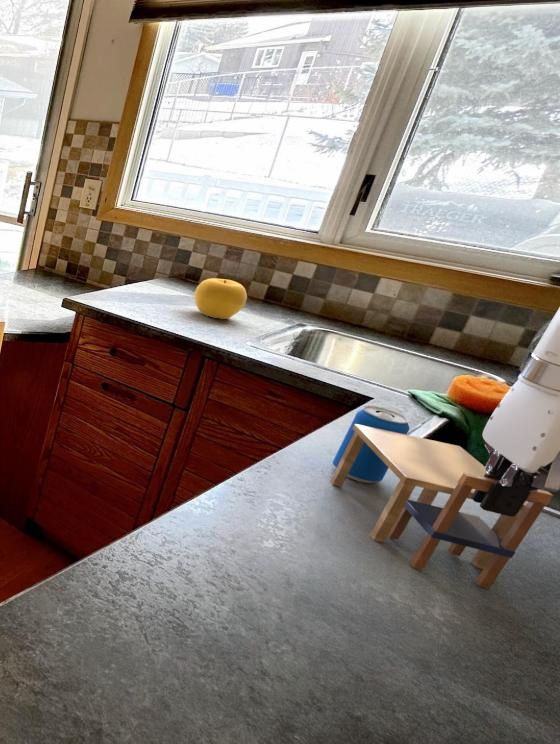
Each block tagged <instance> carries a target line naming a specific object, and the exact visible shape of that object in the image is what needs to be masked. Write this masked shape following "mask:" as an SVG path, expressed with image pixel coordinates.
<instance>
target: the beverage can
mask: <svg viewBox="0 0 560 744" xmlns="http://www.w3.org/2000/svg"><path fill="white" fill-rule="evenodd" d="M409 423H410V419H409V418H408V417H406V416H405V415H403V414H401V413H399V412H397V411H394V410H392V409H389V408H384V407H380V406H375V405H364V406H363V407H362V409H360V410H358V411H357V412H356V414H355V416H354V418H353V419H352V422H351V424H350V426H349V428H348V429H347V432H346V434H345V436H344V438H343V439H342V442H341V444H340V446H339V447H338V450H337V452H336V454H335V456H334V458H333V460H332V465H333V466H334V467H335V469H336V468H337V466H338V464H339V462H340V460H341V458H342V456H343V454H344V452H345V450H346V448H347V446H348V444H349V442H350V440H351V438H352V436H353V434H354V432H355V431H354V430H353V429H352V428H353V426H354V424H358V425H363V426H368V427H372V428H377V429H382V430H386V431H391V432H396V433H400V434H405V435H408V433H409V432H410V425H409ZM389 469H390V468H389V467H388V466H387V465H386V464H385V463H384V462H383V461H382V460H381V459H380V458H379V457H378V456H377V455H376V453H375V452H374V451H373V450H372V449H371V448H370V447H369V446H368V445H367V444H366V443H365V442H364V443H363V445H362V447H361V449H360V451H359V453H358V455H357V457H356V459H355V461H354V463H353V465H352V467H351V469H350V471H349V473H348V475H347V476H346V478H349V479H351V480H353V481H357V482H361V483H364V484H365V483H366V484H374V483H379V482H380V483H381V482H382V481H383V479H384V478H385V476H386V474H387V472H388V471H389Z"/></svg>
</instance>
